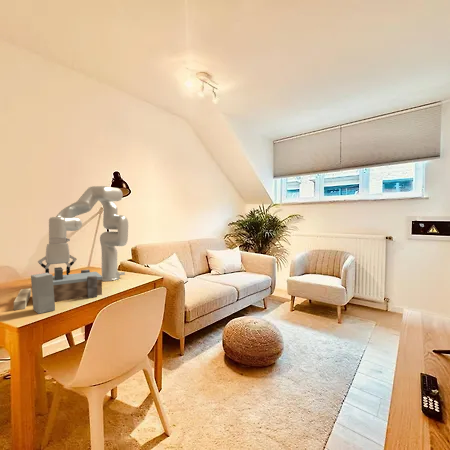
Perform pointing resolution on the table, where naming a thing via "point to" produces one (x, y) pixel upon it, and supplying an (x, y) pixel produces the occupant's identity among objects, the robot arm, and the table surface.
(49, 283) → the skincare box
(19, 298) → the smooth beige tapered object
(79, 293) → the brown wooden box
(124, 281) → the table surface
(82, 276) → the lid
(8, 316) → the table surface
